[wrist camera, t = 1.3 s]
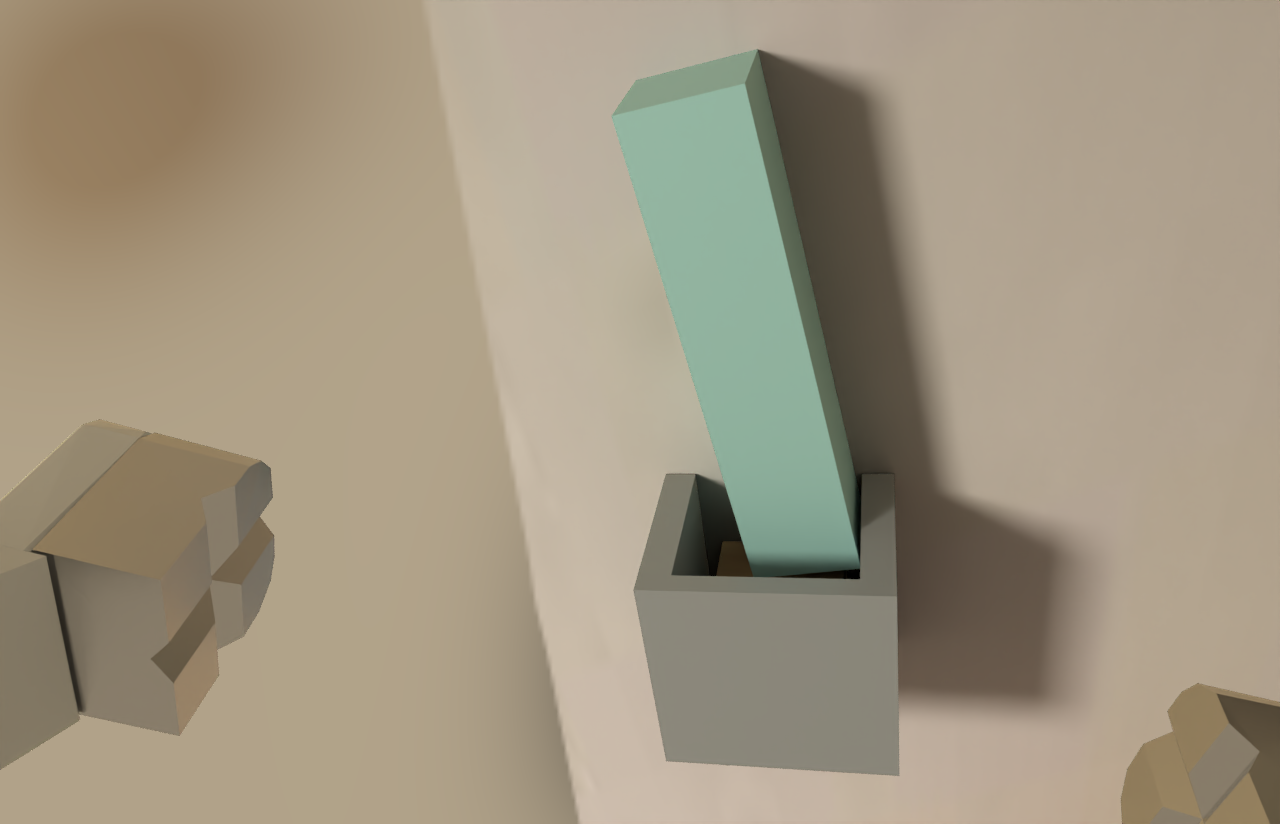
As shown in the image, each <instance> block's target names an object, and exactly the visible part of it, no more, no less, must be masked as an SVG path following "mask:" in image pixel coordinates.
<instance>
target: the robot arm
mask: <svg viewBox="0 0 1280 824" xmlns="http://www.w3.org/2000/svg"><path fill="white" fill-rule="evenodd" d="M272 498H273V494H272V481H271V469H270V467H268V466H267V465H266V464H265V463H263V462H262V461H261V460H257V459H253V458H249V457H246V456H242V455H238V454H234V453H230V452H227V451H223V450H219V449H215V448H211V447H208V446H204V445H200V444H196V443H192V442H189V441H185V440H181V439H177V438H173V437H170V436H166V435H162V434H158V433H153V434H152V433H149V432H145V431H141V430H138V429H134V428H130V427H127V426H123V425H119V424H115V423H112V422H108V421H104V420H101V419H99V420H96V421H92V422H89V423H86V424H83V425H81V426H80V427H79V428H78V429H77V430H75V431H74V432H73V433H72V434H71V435H70V436H69V437H68V438H67V439H66V440H65V441H64V442H62V443H61V444H60V445H59V446H58V447H57V448H56V449H55V450H54V451H53V452H52V453H51V454H50V455H49V456H47V458H45V459H44V460H43V461H42V462H41V463H40V464H39V465H38V466H37V467H36V468H35V469H34V470H32V471H31V472H30V473H29V474H28V475H27V476H26V477H25V478H24V479H23V480H22V481H21V482H19V483H18V484H17V485H16V486H15V487H14V488H13V489H12V490H11V491H10V492H9V493H8V494H7V495H6V496H5V497H3V498H2V499H1V500H0V770H1V769H2V768H4V767H5V766H7V765H9V764H10V763H12V762H13V761H15V760H17V759H18V758H20V757H22V756H23V755H25V754H26V753H28V752H30V751H31V750H33V749H34V748H36V747H38V746H39V745H41V744H42V743H44V742H46V741H47V740H49V739H51V738H52V737H54V736H55V735H57V734H59V733H60V732H62V731H63V730H65V729H67V728H68V727H70V726H71V725H73V724H75V723H76V722H78V721H79V719H80V717H79V714H80V715H85V716H89V717H94V718H99V719H104V720H108V721H113V722H117V723H122V724H127V725H131V726H136V727H140V728H145V729H150V730H155V731H159V732H164V733H168V734H173V735H178V736H180V735H181V733H182V732H183V730H184V729H185V727H186V725H187V724H188V722H189V721H190V719H191V718H192V716H193V715H194V713H195V712H196V710H197V708H198V707H199V705H200V704H201V702H202V700H203V699H204V698H205V696H206V694H207V693H208V691H209V690H210V688H211V687H212V685H213V684H214V682H215V681H216V679H217V678H218V676H219V667H218V652H217V650H218V649H219V648H222V647H224V646H226V645H228V644H229V643H232V642H234V641H236V640H238V639H240V638H242V637H243V636H244V635H245V634H246V632H247V630H248V629H249V627H250V625H251V624H252V622H253V621H254V619H255V617H256V616H257V614H258V612H259V610H260V607H261V605H262V602H263V600H264V597H265V594H266V591H267V589H268V586H269V583H270V581H271V575H272V568H273V561H274V535H273V533H272V532H271V531H270V529H269V528H268V527H267V526H266V524H265V523H264V522H263V520H262V519H261V518H260V515H261V514H262V512H263V511H264V509H265V508H266V507H267V505H268V504H269V502H270V501H271V499H272ZM1167 712H1168V716H1169V719H1170V723H1171V726H1172V730H1173V732H1171V733H1168V734H1166V735H1163V736H1161V737H1159V738H1156V739H1154V740H1152V741H1149V742H1147V743H1144V744H1143V745H1142V747H1141V749H1140V750H1139V752H1138V753H1137V755H1136V756H1135V758H1134V759H1133V761H1132V762H1131V764H1130V766H1129V767H1128V769H1127V773H1126V777H1125V782H1124V786H1123V791H1122V796H1121V813H1122V824H1280V702H1277V701H1273V700H1268V699H1264V698H1260V697H1255V696H1251V695H1247V694H1242V693H1238V692H1234V691H1229V690H1225V689H1221V688H1216V687H1212V686H1208V685H1203V684H1199V683H1197V684H1195V685H1193V686H1192V687H1190V688H1188V689H1186V690H1184V691H1182V692H1181V694H1180V695H1179V696H1178V697H1177V699H1176V700H1175V701H1174V703H1173V704H1172V705H1171V707H1170V708H1169V709H1168V711H1167Z"/></svg>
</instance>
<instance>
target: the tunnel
mask: <svg viewBox="0 0 1280 824" xmlns="http://www.w3.org/2000/svg"><path fill="white" fill-rule="evenodd" d="M634 595H635V600H636V605H637V610H638V616H639V621H640V626H641V631H642V637H643V642H644V647H645V652H646V657H647V663H648V668H649V673H650V678H651V684H652V689H653V694H654V699H655V704H656V710H657V715H658V720H659V725H660V731H661V736H662V741H663V746H664V752H665V757H666V761H672V762H688V763H704V764H720V765H735V766H751V767H767V768H783V769H798V770H814V771H830V772H846V773H861V774H877V775H893V776H899V709H898V626H897V571H896V530H895V489H894V474H862V500H861V555H860V579H821V578H773V577H725V576H709V568H708V561H707V554H706V547H705V540H704V532H703V525H702V518H701V511H700V503H699V496H698V489H697V482H696V474H666V476H665V480H664V483H663V487H662V490H661V494H660V497H659V501H658V505H657V508H656V512H655V515H654V519H653V523H652V526H651V530H650V533H649V537H648V540H647V544H646V548H645V551H644V555H643V558H642V562H641V566H640V569H639V573H638V576H637V580H636V583H635V587H634Z"/></svg>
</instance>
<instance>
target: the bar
mask: <svg viewBox="0 0 1280 824" xmlns="http://www.w3.org/2000/svg"><path fill="white" fill-rule="evenodd" d="M612 119H613V123H614V126H615V129H616V132H617V136H618V139H619V142H620V145H621V149H622V152H623V155H624V158H625V162H626V165H627V168H628V171H629V175H630V178H631V181H632V184H633V188H634V191H635V194H636V197H637V201H638V204H639V207H640V210H641V214H642V217H643V220H644V223H645V227H646V230H647V233H648V236H649V240H650V243H651V246H652V249H653V253H654V256H655V259H656V262H657V266H658V269H659V272H660V275H661V278H662V282H663V285H664V288H665V291H666V295H667V298H668V301H669V304H670V308H671V311H672V314H673V317H674V321H675V324H676V327H677V330H678V334H679V337H680V340H681V343H682V347H683V350H684V353H685V356H686V360H687V363H688V366H689V369H690V373H691V376H692V379H693V382H694V386H695V389H696V392H697V395H698V399H699V402H700V405H701V408H702V412H703V415H704V418H705V421H706V425H707V428H708V431H709V434H710V438H711V441H712V444H713V447H714V451H715V454H716V457H717V460H718V464H719V467H720V470H721V473H722V477H723V480H724V483H725V486H726V490H727V493H728V496H729V499H730V503H731V506H732V509H733V512H734V515H735V519H736V522H737V525H738V528H739V532H740V535H741V538H742V541H743V545H744V548H745V551H746V554H747V558H748V561H749V564H750V567H751V571H752V574H753V577H775V576H786V575H797V574H808V573H819V572H830V571H841V570H852V569H860V555H861V497H860V493H859V488H858V484H857V480H856V475H855V471H854V467H853V462H852V458H851V453H850V449H849V445H848V440H847V436H846V432H845V427H844V423H843V419H842V414H841V410H840V405H839V401H838V397H837V392H836V388H835V384H834V379H833V375H832V371H831V366H830V362H829V358H828V353H827V349H826V344H825V340H824V336H823V331H822V327H821V323H820V318H819V314H818V310H817V305H816V301H815V297H814V292H813V288H812V283H811V279H810V275H809V270H808V266H807V262H806V257H805V253H804V249H803V244H802V240H801V236H800V231H799V227H798V222H797V218H796V214H795V209H794V205H793V201H792V196H791V192H790V188H789V183H788V179H787V174H786V170H785V166H784V161H783V157H782V153H781V148H780V144H779V140H778V135H777V131H776V127H775V122H774V118H773V113H772V109H771V105H770V100H769V96H768V92H767V87H766V83H765V79H764V74H763V70H762V66H761V61H760V57H759V52H758V49H757V50H753V51H749V52H745V53H741V54H737V55H733V56H729V57H725V58H722V59H718V60H714V61H710V62H706V63H702V64H698V65H694V66H690V67H686V68H683V69H679V70H675V71H671V72H667V73H663V74H659V75H655V76H651V77H647V78H644V79H640V80H636V81H635V83H634V84H633V85H632V87H631V88H630V90H629V91H628V93H627V94H626V96H625V97H624V99H623V100H622V102H621V103H620V104H619V106H618V107H617V109H616V110H615V112H614V113H613V115H612Z"/></svg>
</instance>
